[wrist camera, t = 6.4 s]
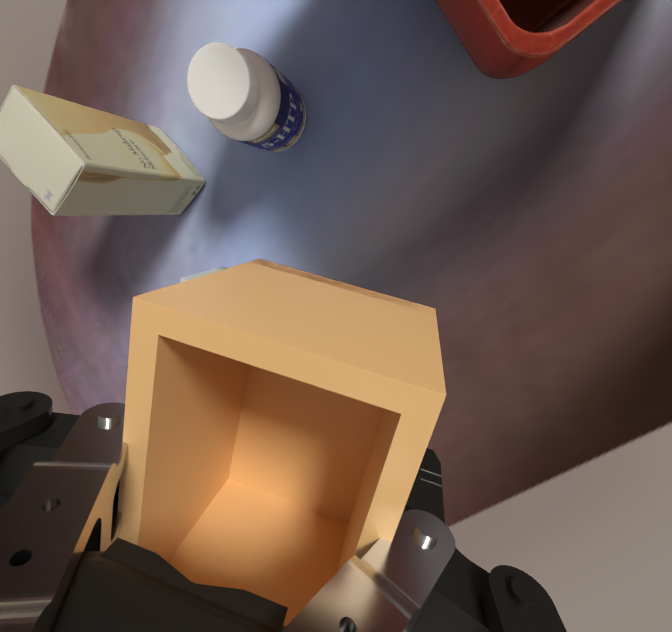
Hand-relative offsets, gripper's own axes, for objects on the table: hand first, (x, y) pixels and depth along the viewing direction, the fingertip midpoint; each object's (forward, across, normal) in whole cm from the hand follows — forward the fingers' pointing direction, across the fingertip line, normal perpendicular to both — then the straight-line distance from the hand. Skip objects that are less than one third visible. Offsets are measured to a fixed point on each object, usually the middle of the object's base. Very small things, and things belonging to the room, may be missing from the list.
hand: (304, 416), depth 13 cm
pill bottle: (+21, +11, -11) cm, 26 cm away
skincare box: (+21, +20, -5) cm, 30 cm away
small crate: (+1, 0, 0) cm, 1 cm away
